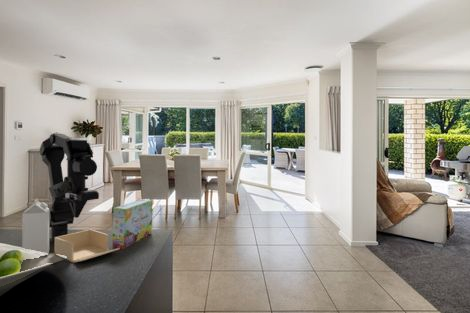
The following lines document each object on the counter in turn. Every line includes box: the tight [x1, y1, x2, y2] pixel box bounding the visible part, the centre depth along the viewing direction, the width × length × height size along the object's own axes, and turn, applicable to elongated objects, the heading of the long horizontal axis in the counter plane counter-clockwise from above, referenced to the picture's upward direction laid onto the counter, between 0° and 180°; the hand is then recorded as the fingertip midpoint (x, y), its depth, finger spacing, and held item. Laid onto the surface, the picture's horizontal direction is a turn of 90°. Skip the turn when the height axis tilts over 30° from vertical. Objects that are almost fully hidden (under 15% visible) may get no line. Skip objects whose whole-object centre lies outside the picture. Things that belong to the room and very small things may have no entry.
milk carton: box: [21, 197, 50, 254], centre depth 104 cm, size 7×7×19 cm
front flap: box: [72, 248, 120, 263], centre depth 101 cm, size 1×13×6 cm
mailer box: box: [54, 228, 109, 263], centre depth 106 cm, size 11×13×6 cm
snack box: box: [111, 198, 153, 250], centre depth 122 cm, size 21×6×15 cm, turn 168°
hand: (76, 217), depth 108 cm, fingers closed
